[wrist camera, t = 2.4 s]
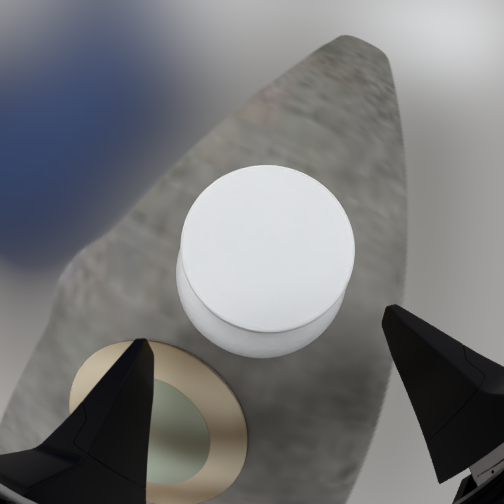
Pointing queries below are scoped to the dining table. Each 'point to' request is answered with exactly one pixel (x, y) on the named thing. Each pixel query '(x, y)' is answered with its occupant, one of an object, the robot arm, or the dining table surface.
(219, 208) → the supplement bottle
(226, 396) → the round tan coaster
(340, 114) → the dining table surface
